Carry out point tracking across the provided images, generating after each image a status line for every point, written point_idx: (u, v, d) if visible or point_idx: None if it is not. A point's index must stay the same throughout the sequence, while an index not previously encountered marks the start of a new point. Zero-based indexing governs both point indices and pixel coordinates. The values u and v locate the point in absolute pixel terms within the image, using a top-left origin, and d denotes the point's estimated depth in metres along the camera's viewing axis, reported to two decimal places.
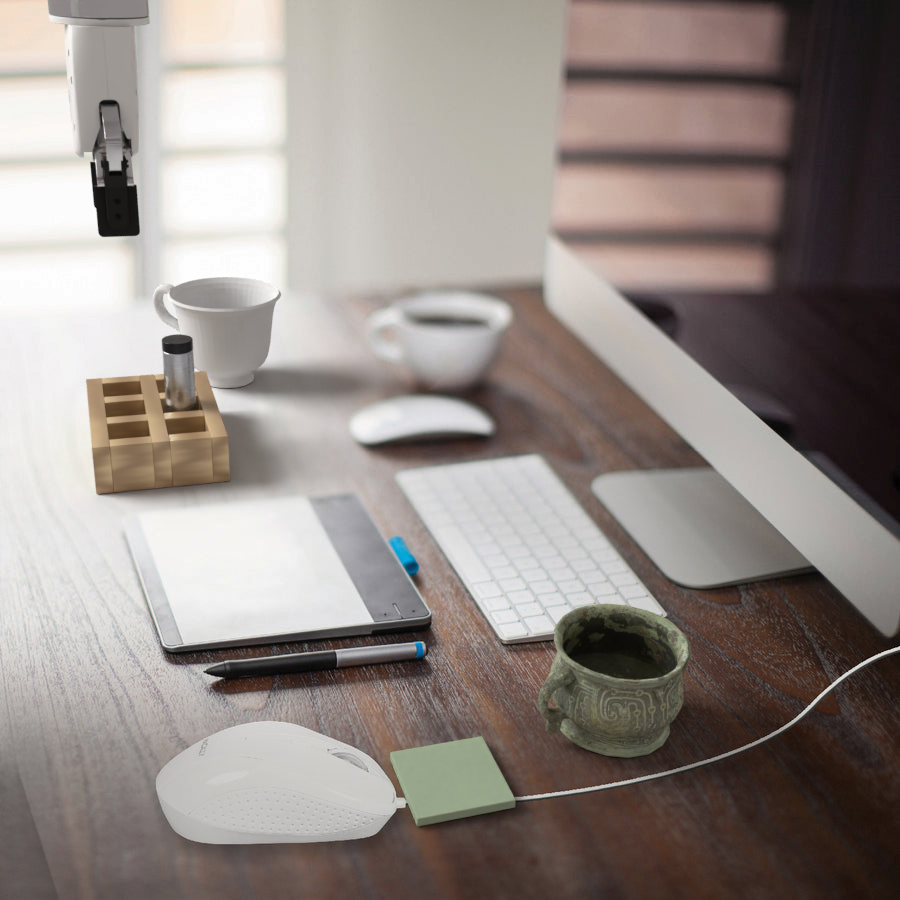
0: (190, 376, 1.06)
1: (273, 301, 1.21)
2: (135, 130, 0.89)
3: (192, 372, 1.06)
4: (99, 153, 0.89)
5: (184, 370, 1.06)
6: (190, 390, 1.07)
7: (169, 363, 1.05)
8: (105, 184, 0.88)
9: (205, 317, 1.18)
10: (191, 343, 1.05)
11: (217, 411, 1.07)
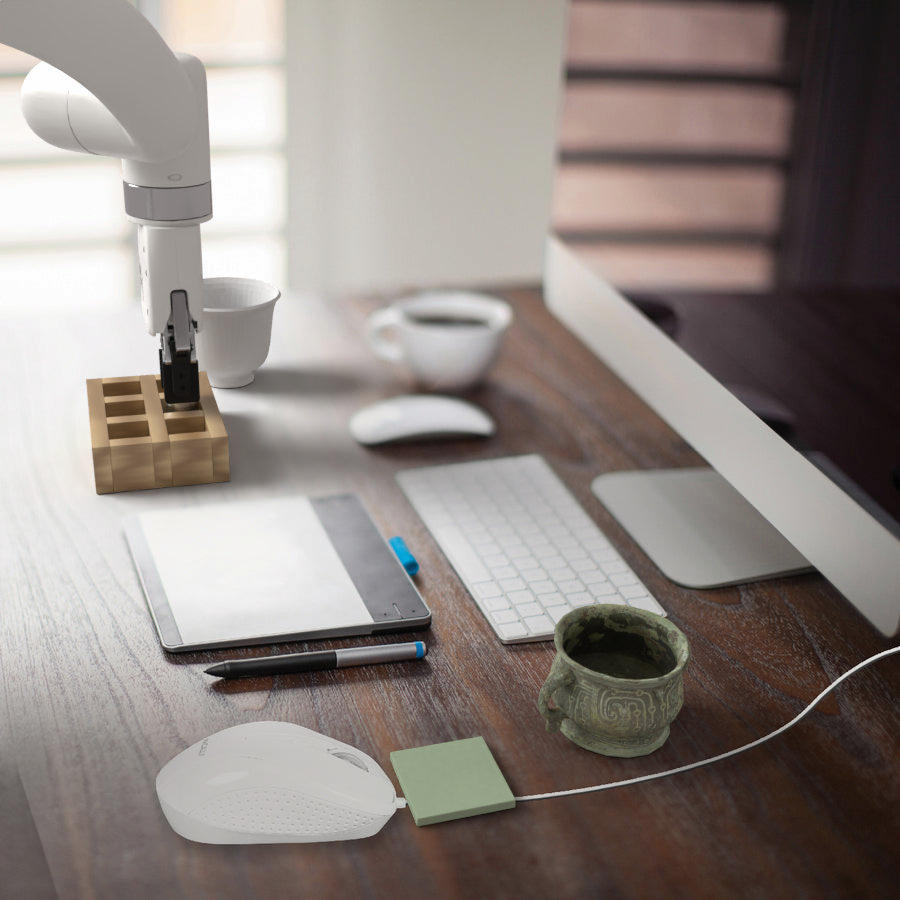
0: None
1: (273, 301, 1.21)
2: (201, 313, 1.00)
3: None
4: (168, 339, 1.02)
5: None
6: None
7: None
8: (172, 363, 1.03)
9: (205, 317, 1.18)
10: None
11: (217, 411, 1.07)
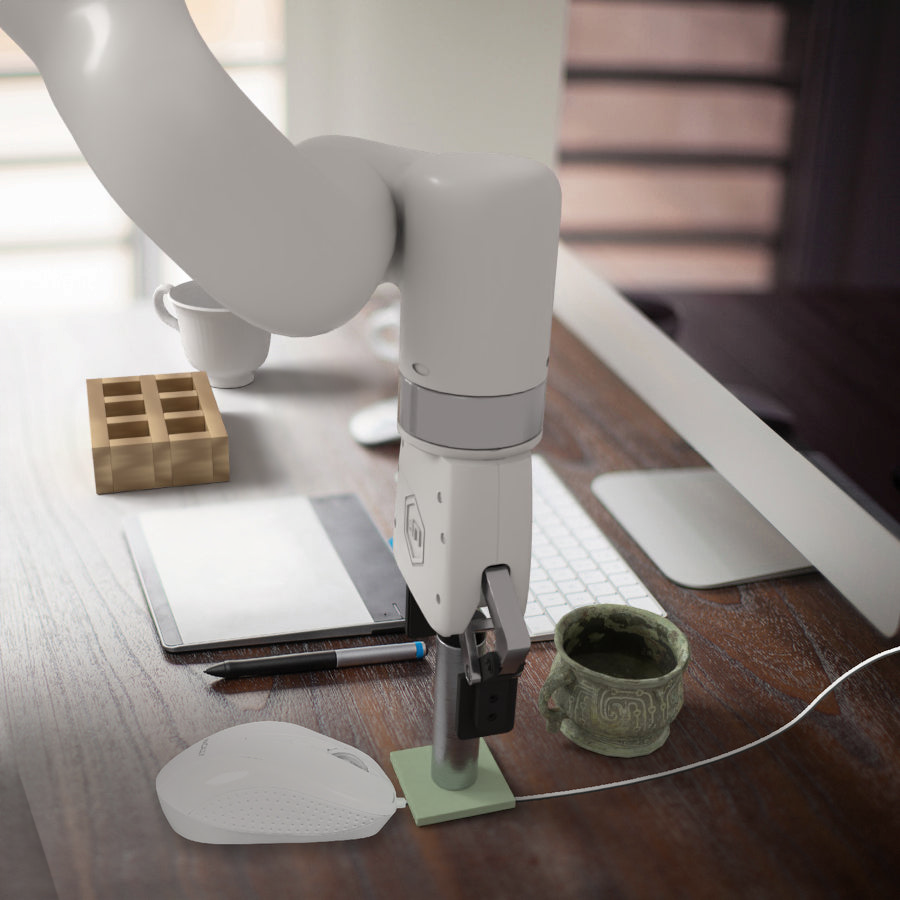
0: None
1: None
2: (526, 597, 0.58)
3: None
4: (471, 632, 0.58)
5: None
6: None
7: (451, 661, 0.63)
8: (482, 682, 0.58)
9: (205, 317, 1.18)
10: None
11: (217, 411, 1.07)
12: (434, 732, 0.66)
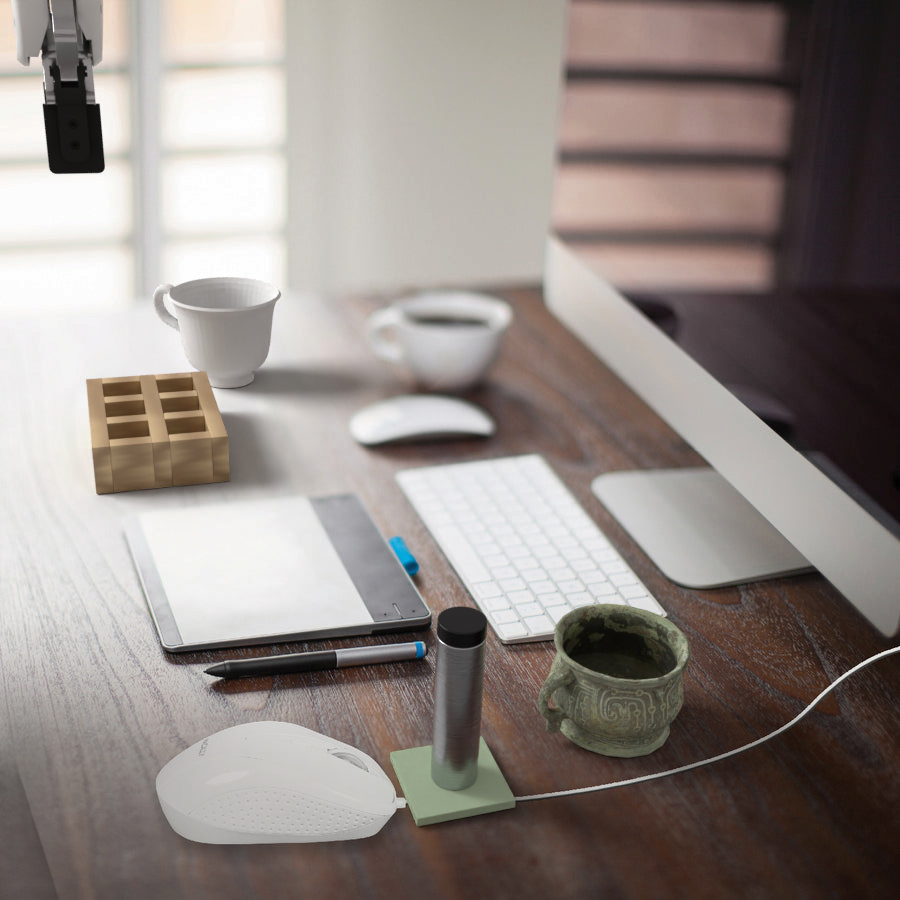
0: (481, 677, 0.64)
1: (273, 301, 1.21)
2: (97, 28, 0.66)
3: (483, 670, 0.65)
4: (49, 59, 0.66)
5: (473, 671, 0.64)
6: (479, 697, 0.65)
7: (451, 661, 0.63)
8: (57, 101, 0.66)
9: (205, 317, 1.18)
10: (486, 627, 0.64)
11: (217, 411, 1.07)
12: (434, 732, 0.66)
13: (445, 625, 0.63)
